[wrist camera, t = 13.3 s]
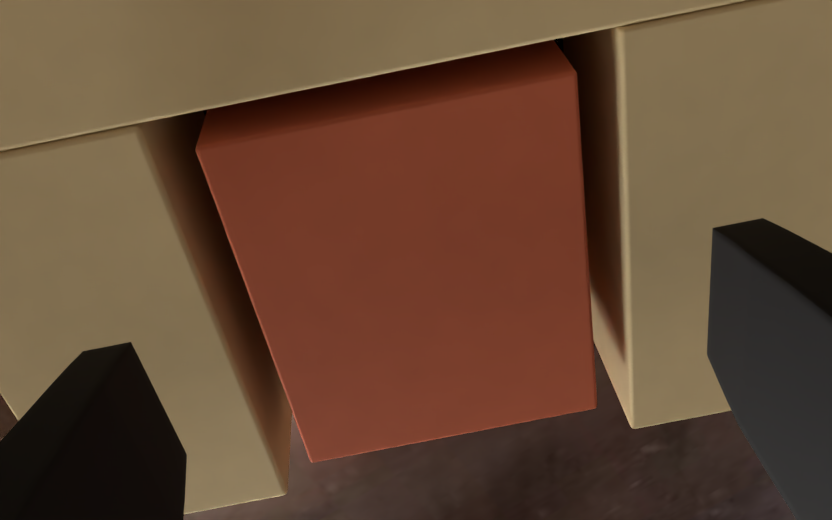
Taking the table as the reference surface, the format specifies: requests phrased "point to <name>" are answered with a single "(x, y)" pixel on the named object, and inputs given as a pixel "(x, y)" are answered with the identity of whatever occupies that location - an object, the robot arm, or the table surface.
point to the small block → (414, 246)
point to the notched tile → (354, 59)
